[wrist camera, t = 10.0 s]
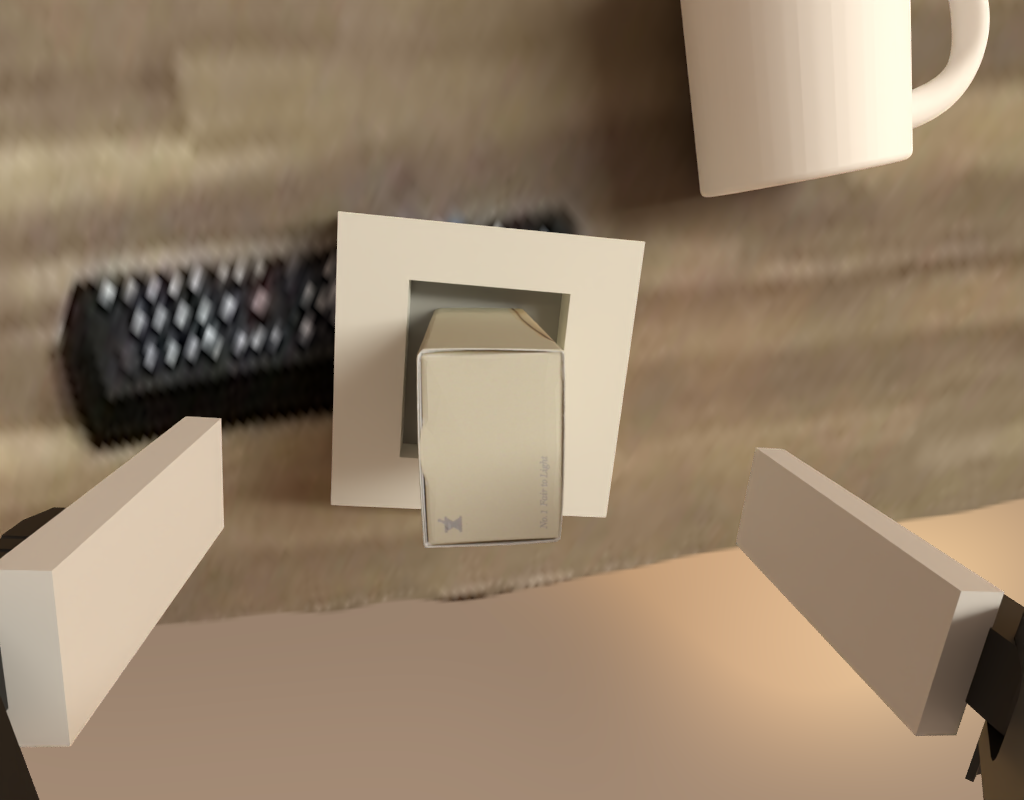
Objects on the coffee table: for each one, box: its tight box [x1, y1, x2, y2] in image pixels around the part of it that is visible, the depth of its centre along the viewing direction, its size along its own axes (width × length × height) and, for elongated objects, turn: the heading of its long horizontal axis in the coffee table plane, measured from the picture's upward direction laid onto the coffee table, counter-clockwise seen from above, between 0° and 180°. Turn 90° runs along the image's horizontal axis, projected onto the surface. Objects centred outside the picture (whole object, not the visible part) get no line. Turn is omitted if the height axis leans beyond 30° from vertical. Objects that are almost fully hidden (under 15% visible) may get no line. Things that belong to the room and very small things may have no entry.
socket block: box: [331, 211, 645, 517], centre depth 29 cm, size 13×13×3 cm
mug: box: [680, 0, 989, 197], centre depth 25 cm, size 12×10×8 cm
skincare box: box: [416, 308, 566, 548], centre depth 24 cm, size 6×4×12 cm
